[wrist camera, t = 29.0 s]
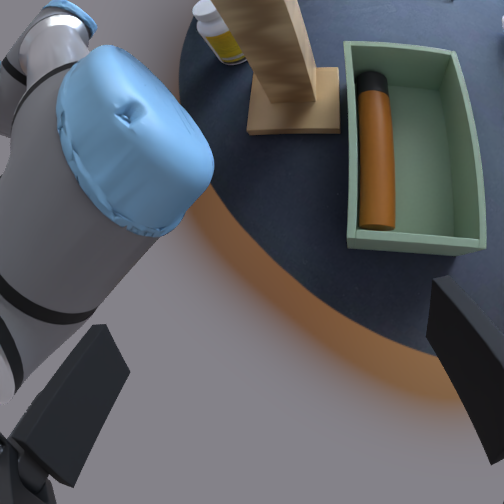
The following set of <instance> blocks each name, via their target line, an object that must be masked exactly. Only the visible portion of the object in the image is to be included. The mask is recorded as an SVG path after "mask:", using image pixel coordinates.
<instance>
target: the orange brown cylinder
mask: <svg viewBox="0 0 504 504" xmlns="http://www.w3.org/2000/svg"><path fill="white" fill-rule="evenodd" d="M356 82H357V96H358V113H359V137H360V206H359V227H360V228H362V229H365V230H372V231H391V230H394V229H395V212H396V193H395V159H394V141H393V128H392V117H391V107H390V99H389V90H388V83H387V79H386V77H385V76H384V75H383V74H381V73H378V72H374V71H368V72H363V73H361V74H359V75H358V76H357V79H356Z"/></svg>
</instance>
